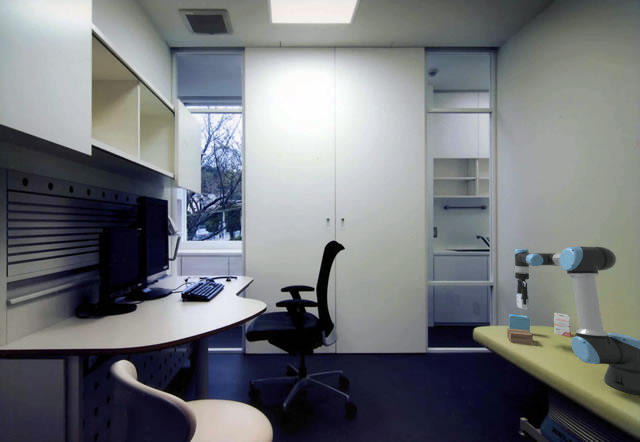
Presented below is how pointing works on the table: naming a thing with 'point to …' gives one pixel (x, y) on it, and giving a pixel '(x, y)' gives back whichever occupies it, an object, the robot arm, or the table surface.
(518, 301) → the medicine box
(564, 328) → the ink cartridge box
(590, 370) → the table surface
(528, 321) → the data package
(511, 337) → the walnut block
